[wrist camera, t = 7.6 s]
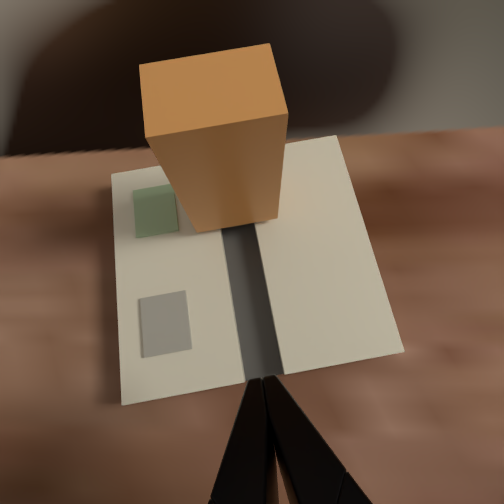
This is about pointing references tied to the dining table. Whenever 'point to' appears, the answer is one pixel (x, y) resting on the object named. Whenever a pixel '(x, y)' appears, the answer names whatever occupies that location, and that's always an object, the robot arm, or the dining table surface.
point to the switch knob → (218, 133)
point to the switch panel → (245, 283)
